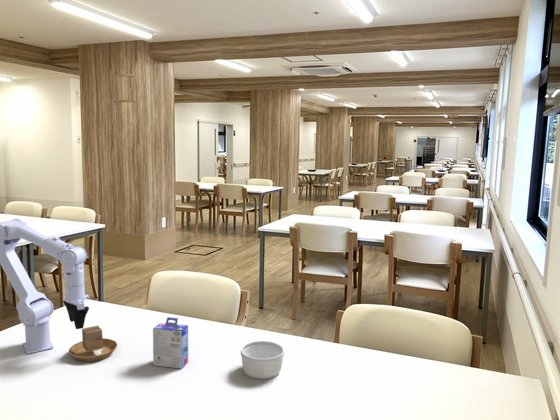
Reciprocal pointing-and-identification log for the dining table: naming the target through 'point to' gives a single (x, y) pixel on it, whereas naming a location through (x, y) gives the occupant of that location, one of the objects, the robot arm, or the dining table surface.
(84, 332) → the walnut block
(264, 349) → the ramekin
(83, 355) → the plant saucer
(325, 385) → the dining table surface
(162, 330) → the ink cartridge box
